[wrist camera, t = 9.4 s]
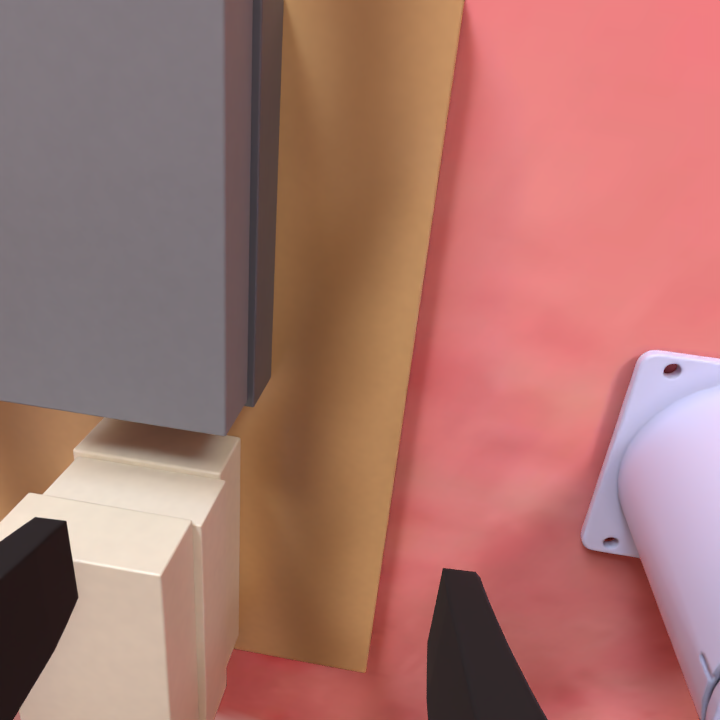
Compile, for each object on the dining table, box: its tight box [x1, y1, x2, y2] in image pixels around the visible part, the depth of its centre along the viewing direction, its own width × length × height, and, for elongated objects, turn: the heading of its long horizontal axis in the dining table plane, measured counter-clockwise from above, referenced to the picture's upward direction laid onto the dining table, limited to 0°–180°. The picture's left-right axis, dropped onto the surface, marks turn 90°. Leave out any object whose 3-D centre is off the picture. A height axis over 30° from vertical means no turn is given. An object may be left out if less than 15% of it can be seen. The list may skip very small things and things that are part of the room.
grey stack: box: [0, 0, 284, 436], centre depth 17 cm, size 7×11×4 cm, turn 175°
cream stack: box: [42, 417, 241, 720], centre depth 22 cm, size 5×10×4 cm, turn 175°
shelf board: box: [0, 0, 465, 673], centre depth 22 cm, size 16×25×1 cm, turn 175°
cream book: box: [0, 493, 199, 720], centre depth 19 cm, size 5×10×2 cm, turn 175°
